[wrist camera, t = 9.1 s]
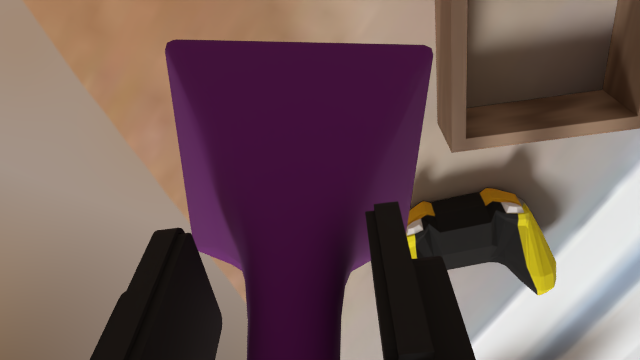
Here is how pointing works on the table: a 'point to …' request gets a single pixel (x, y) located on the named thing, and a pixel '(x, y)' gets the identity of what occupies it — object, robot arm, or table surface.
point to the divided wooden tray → (536, 114)
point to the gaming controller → (483, 235)
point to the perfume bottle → (295, 170)
